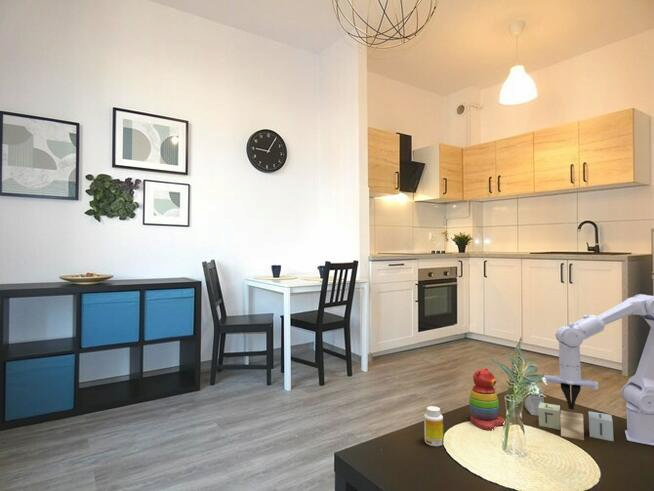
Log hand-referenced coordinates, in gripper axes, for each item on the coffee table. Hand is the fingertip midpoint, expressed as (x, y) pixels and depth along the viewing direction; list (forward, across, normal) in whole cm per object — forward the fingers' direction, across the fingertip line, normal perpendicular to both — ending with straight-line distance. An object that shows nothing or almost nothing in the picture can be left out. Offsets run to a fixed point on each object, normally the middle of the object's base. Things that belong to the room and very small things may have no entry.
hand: (571, 408), depth 123 cm
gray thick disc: (+8, -12, +15) cm, 21 cm away
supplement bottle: (+8, -35, -29) cm, 46 cm away
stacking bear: (+8, -25, -5) cm, 27 cm away
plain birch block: (+8, 0, 0) cm, 8 cm away
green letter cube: (+8, -6, +5) cm, 11 cm away
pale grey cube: (+8, +8, +4) cm, 12 cm away
